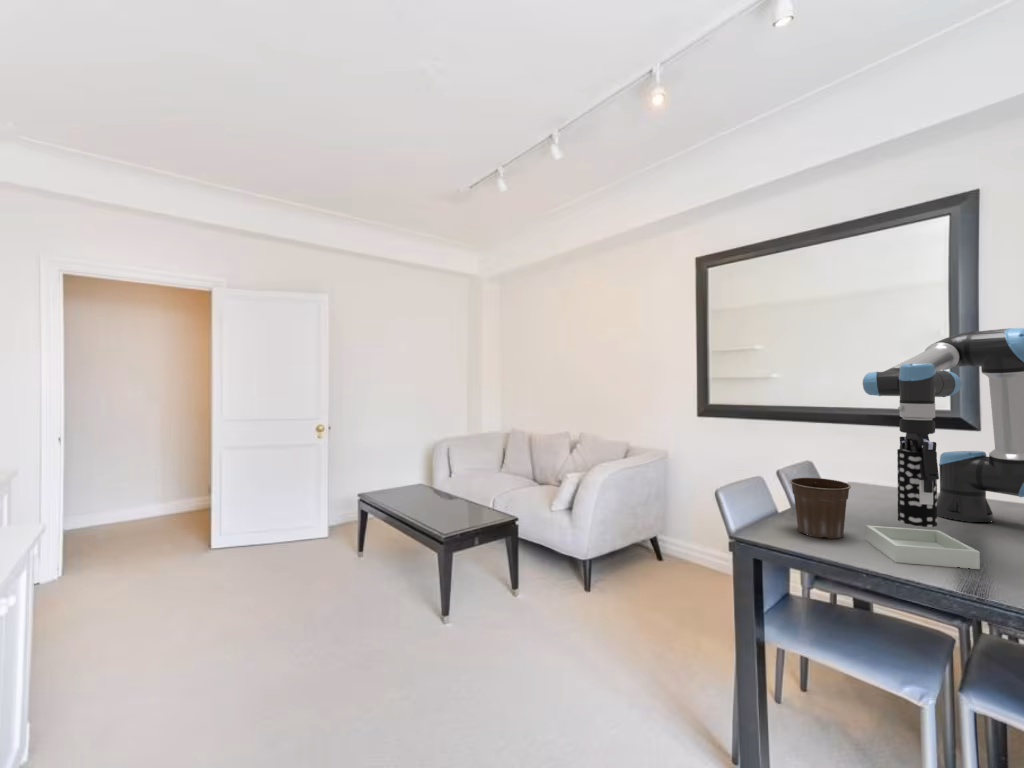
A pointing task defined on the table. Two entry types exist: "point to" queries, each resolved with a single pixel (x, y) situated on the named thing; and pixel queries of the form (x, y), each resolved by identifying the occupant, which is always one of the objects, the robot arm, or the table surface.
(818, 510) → the plant pot
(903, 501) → the spotted tube
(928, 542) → the tray
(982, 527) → the table surface
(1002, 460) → the robot arm
